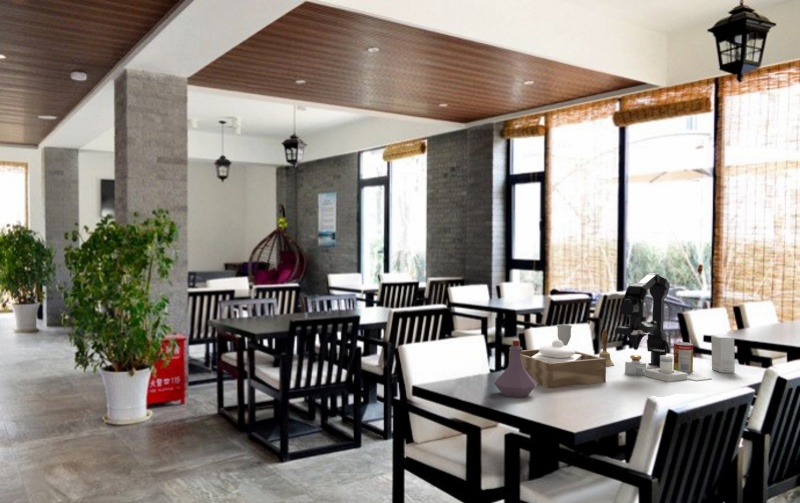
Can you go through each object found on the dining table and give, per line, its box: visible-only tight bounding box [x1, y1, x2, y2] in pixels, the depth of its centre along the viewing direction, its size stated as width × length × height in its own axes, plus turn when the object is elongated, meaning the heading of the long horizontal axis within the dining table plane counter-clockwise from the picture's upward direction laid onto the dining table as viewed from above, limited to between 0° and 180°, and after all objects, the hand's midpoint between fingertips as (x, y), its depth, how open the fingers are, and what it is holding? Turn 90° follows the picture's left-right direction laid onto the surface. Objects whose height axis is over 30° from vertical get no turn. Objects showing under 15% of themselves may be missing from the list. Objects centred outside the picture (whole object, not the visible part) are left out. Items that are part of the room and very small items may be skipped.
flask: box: [493, 339, 538, 398], centre depth 228 cm, size 16×16×20 cm
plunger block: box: [624, 360, 647, 377], centre depth 265 cm, size 6×6×5 cm
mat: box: [686, 373, 713, 382], centre depth 258 cm, size 9×9×1 cm
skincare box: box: [710, 334, 736, 374], centre depth 272 cm, size 8×7×16 cm
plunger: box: [629, 354, 642, 364], centre depth 265 cm, size 4×4×7 cm
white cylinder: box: [659, 354, 674, 373], centre depth 258 cm, size 5×5×9 cm
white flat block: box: [644, 367, 688, 382], centre depth 258 cm, size 12×11×2 cm
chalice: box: [556, 324, 573, 346], centre depth 284 cm, size 7×7×18 cm
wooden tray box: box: [508, 348, 607, 389], centre depth 256 cm, size 28×28×10 cm
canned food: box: [672, 341, 694, 373], centre depth 273 cm, size 8×8×12 cm
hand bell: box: [598, 329, 615, 367], centre depth 285 cm, size 8×8×16 cm
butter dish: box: [532, 339, 582, 363], centre depth 256 cm, size 18×18×16 cm
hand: (635, 349), depth 264 cm, fingers closed
